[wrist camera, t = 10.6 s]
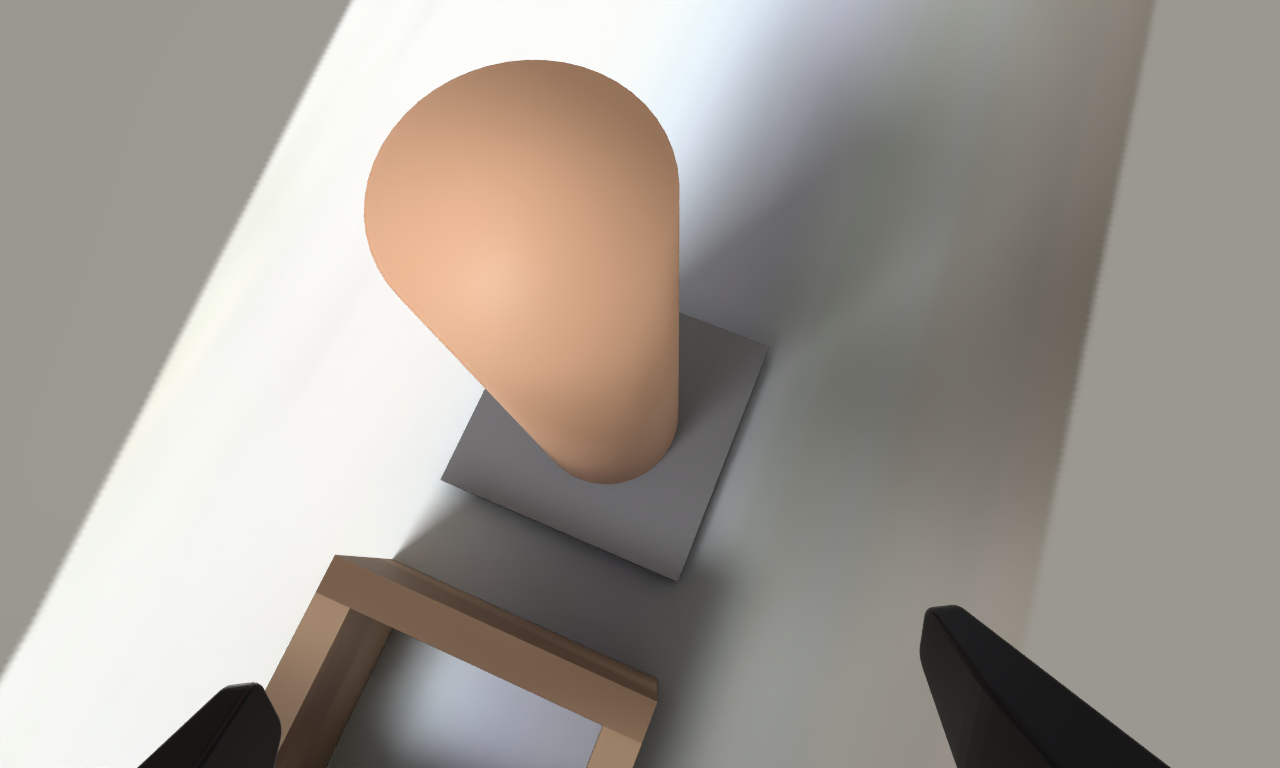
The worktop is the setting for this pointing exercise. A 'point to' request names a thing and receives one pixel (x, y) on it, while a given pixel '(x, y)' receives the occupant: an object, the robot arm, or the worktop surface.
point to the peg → (543, 254)
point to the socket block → (456, 624)
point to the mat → (639, 508)
